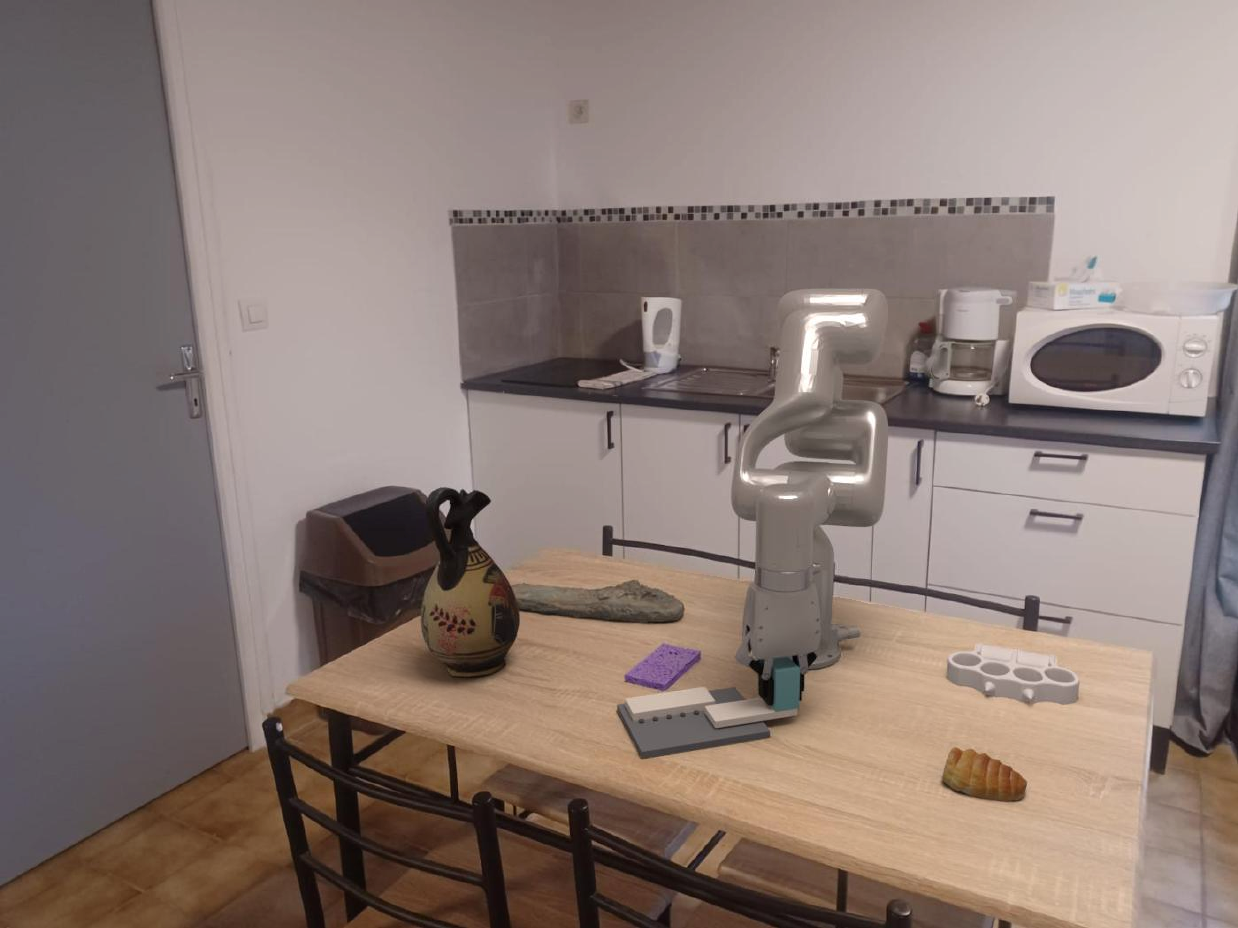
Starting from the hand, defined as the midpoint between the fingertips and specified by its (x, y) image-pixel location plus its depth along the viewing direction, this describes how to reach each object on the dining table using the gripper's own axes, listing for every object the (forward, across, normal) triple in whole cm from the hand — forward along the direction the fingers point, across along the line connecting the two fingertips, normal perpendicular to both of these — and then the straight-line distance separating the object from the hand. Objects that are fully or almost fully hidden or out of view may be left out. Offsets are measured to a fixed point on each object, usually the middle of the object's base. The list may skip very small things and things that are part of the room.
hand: (780, 697), depth 130 cm
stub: (+2, +4, 0) cm, 5 cm away
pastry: (+4, -17, +22) cm, 27 cm away
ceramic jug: (+3, +40, -29) cm, 50 cm away
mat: (+3, +12, -2) cm, 13 cm away
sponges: (+4, +11, -19) cm, 22 cm away
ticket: (+2, +15, -5) cm, 15 cm away
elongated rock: (+4, +17, -46) cm, 49 cm away
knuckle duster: (+4, -37, 0) cm, 37 cm away
